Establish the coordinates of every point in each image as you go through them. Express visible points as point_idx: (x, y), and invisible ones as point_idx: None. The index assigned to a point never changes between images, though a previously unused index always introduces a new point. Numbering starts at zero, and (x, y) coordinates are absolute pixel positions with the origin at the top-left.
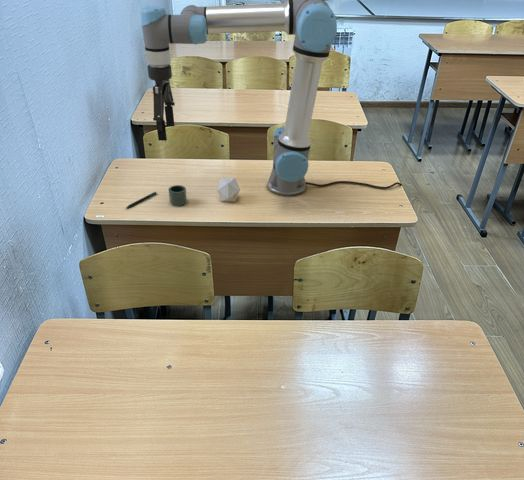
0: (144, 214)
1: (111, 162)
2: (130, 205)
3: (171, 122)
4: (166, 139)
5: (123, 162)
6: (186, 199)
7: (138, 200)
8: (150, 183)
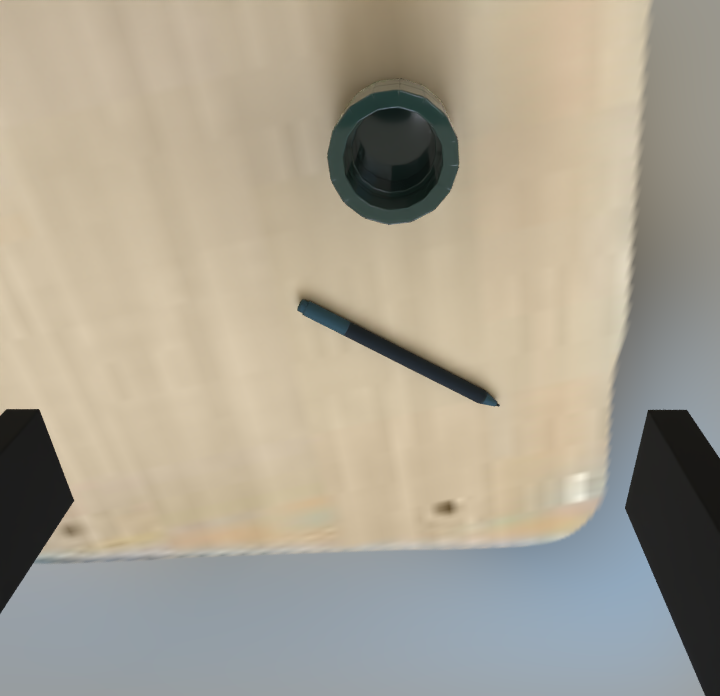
0: (559, 305)
1: None
2: (479, 394)
3: (17, 477)
4: (675, 418)
5: None
6: (399, 80)
7: (421, 370)
8: (181, 356)
